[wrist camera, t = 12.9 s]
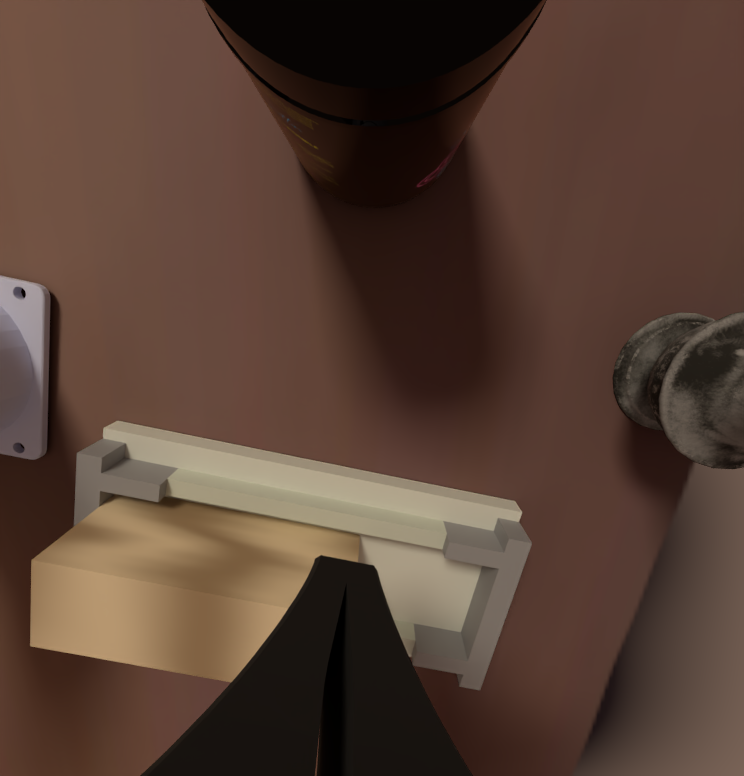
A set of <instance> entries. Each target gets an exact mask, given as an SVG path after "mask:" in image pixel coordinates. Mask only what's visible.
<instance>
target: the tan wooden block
mask: <svg viewBox="0 0 744 776" xmlns="http://www.w3.org/2000/svg"><path fill="white" fill-rule="evenodd" d="M359 540H360V535H358V534H353V533H348V532H342V531H337V530H332V529H327V528H322V527H317V526H312V525H307V524H302V523H297V522H292V521H287V520H281V519H276V518H271V517H266V516H261V515H256V514H251V513H246V512H241V511H236V510H231V509H225V508H220V507H215V506H210V505H205V504H200V503H195V502H190V501H185V500H180V499H175V498H170V497H163V498H162V499H161V500H160V501H159V502H154V501H149V500H144V499H139V498H134V497H128V496H123V495H118V494H115V495H114V496H112V497H111V498H110V499H108V500H107V501H106V502H105V503H103V504H102V505H101V506H100V507H98V508H97V509H96V510H94V511H93V512H92V513H91V514H89V515H88V516H87V517H86V518H84V519H83V520H82V521H80V522H79V523H78V524H77V525H75V526H74V527H73V528H72V529H70V530H69V531H68V532H66V533H65V534H64V535H63V536H61V537H60V538H59V539H58V540H56V541H55V542H54V543H53V544H51V545H50V546H49V547H47V548H46V549H45V550H44V551H42V552H41V553H40V554H39V555H37V556H36V557H35V558H33V559H32V560H31V623H30V646H32V647H37V648H43V649H48V650H54V651H60V652H65V653H71V654H76V655H82V656H88V657H93V658H99V659H104V660H110V661H115V662H121V663H127V664H132V665H138V666H143V667H149V668H155V669H160V670H166V671H171V672H177V673H182V674H188V675H194V676H199V677H205V678H210V679H216V680H221V681H227V682H232V681H233V680H234V679H235V678H236V676H237V675H238V674H239V673H240V672H241V671H242V669H243V668H244V667H245V666H246V665H247V663H248V662H249V661H250V660H251V658H252V657H253V656H254V655H255V653H256V652H257V651H258V649H259V648H260V647H261V645H262V644H263V643H264V642H265V640H266V639H267V638H268V636H269V635H270V634H271V633H272V631H273V630H274V629H275V627H276V626H277V624H278V623H279V622H280V620H281V619H282V617H283V616H284V614H285V613H286V611H287V610H288V608H289V607H290V605H291V604H292V602H293V601H294V599H295V598H296V596H297V594H298V593H299V591H300V589H301V588H302V586H303V584H304V582H305V581H306V579H307V577H308V575H309V573H310V571H311V568H312V566H313V564H314V560H315V558H317V557H319V556H320V555H323V556H328V557H333V558H338V559H344V560H349V561H354V562H358V555H359Z"/></svg>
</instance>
